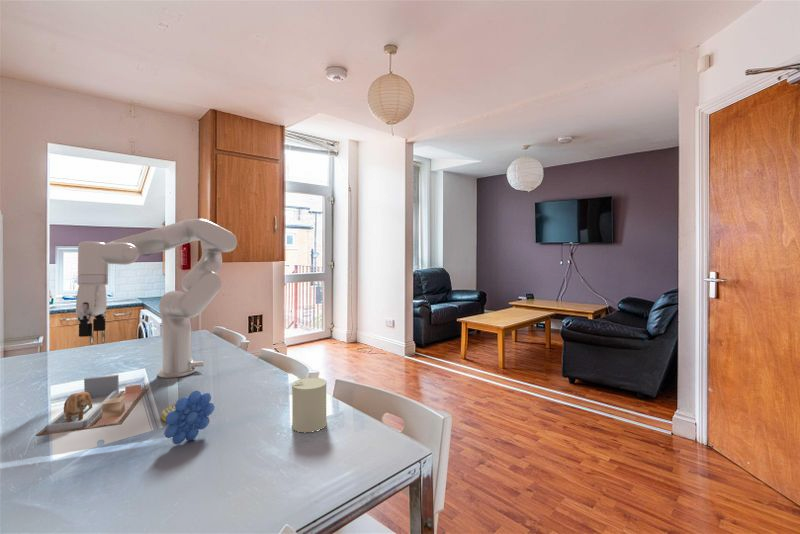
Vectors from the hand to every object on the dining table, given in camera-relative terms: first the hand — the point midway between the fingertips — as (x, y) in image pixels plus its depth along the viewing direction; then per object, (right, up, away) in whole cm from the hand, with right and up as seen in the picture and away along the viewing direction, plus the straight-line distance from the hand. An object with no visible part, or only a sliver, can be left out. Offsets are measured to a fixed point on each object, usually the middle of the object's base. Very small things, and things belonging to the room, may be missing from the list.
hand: (92, 333), depth 121 cm
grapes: (+46, -22, -27) cm, 58 cm away
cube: (+19, -20, -16) cm, 31 cm away
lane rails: (+12, -21, -11) cm, 26 cm away
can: (+74, -22, -19) cm, 80 cm away
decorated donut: (+38, -21, -15) cm, 46 cm away
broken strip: (+16, -21, -10) cm, 28 cm away
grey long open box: (+9, -21, -13) cm, 26 cm away
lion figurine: (+10, -21, -17) cm, 29 cm away
